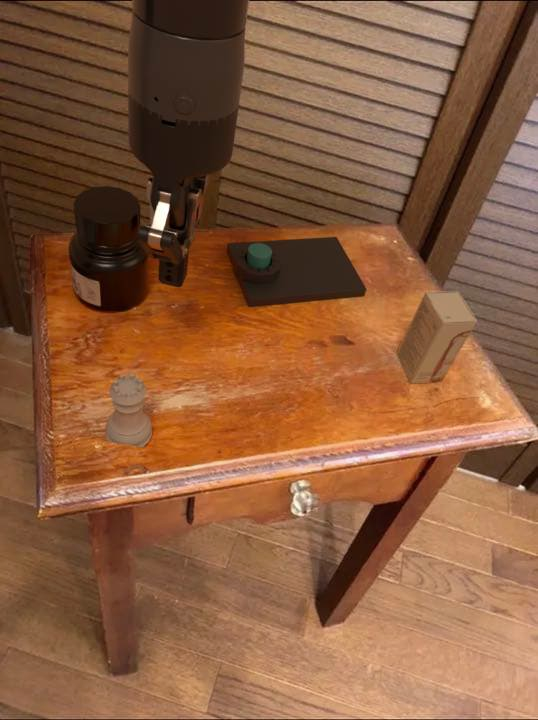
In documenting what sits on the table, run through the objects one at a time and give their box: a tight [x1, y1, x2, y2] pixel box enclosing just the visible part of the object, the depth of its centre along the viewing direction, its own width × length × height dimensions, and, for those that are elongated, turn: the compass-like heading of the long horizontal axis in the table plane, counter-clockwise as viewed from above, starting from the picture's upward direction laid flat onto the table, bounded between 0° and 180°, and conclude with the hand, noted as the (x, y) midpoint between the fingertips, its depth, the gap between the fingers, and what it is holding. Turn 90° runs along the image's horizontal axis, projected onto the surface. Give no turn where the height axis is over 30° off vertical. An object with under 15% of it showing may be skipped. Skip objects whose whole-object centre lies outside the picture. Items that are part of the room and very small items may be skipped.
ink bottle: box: [68, 185, 150, 313], centre depth 66 cm, size 10×9×12 cm
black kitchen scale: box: [226, 236, 367, 308], centre depth 77 cm, size 16×11×3 cm, turn 107°
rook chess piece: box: [105, 372, 153, 448], centre depth 55 cm, size 4×4×8 cm
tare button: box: [247, 243, 272, 269], centre depth 74 cm, size 3×3×2 cm
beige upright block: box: [396, 291, 478, 384], centre depth 67 cm, size 5×4×10 cm
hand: (172, 280), depth 53 cm, fingers closed
